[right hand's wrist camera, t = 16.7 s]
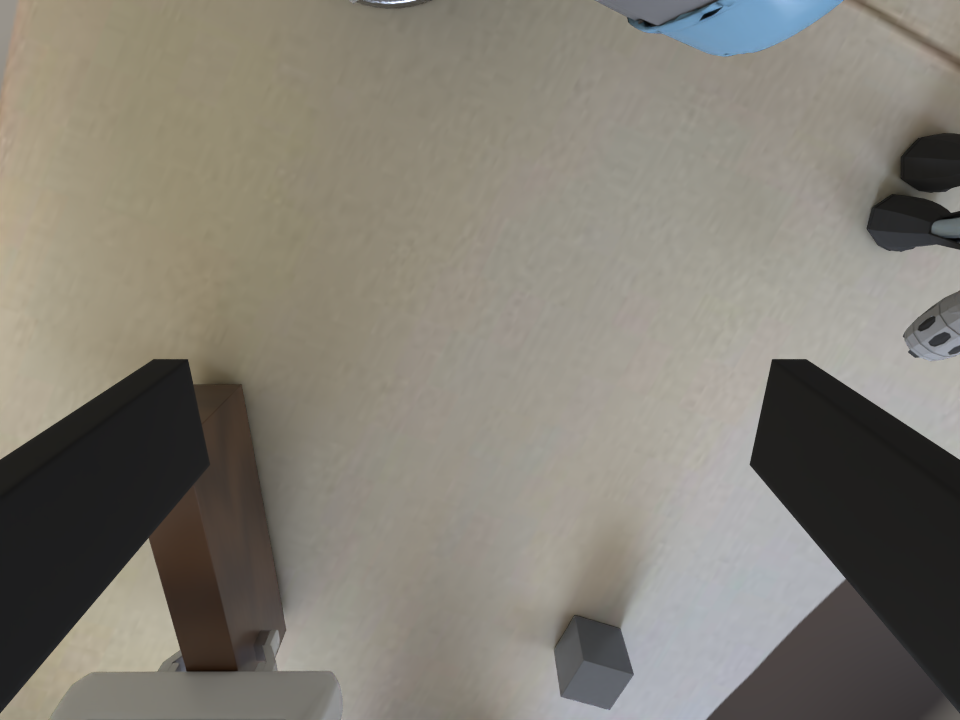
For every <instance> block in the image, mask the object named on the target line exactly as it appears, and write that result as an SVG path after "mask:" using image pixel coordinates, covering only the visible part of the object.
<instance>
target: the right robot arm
mask: <svg viewBox="0 0 960 720" xmlns="http://www.w3.org/2000/svg"><path fill="white" fill-rule="evenodd" d="M350 1H351V2H352V3H353V4H354V3H355V2H357V3H360V4H363V5H367V6H372V7H379V8H404V7H411V6H415V5H420V4H423V3H426V2H428V1H431V0H350ZM595 1H597V2H599V3H601V4H603V5H605V6H607V7H609V8H611V9H613V10H615V11H617V12H619V13H621V14H623V15H625V16H627V18H628V22H629V24H631V25H632V26H634V27H635V28H637V29H639V30H641V31H643V32H647V33H662V34H665V35H667V36H669V37H671V38H674V39H676V40H678V41H680V42H683V43H685V44H687V45H689V46H692V47H694V48H696V49H698V50H701V51H703V52H706V53H709V54H712V55H718V56H732V55H736V54H745V53H754V52H757V51H761V50H764V49H766V48H769V47H771V46H773V45H775V44H777V43H779V42H782V41H784V40H786V39H788V38H789V37H791V36H793V35H795V34H797V33H798V32H800V31H802V30H803V29H805V28H806V27H808V26H809V25H811V24H812V23H814V22H815V21H817V20H818V19H820V18H821V17H823V16H824V15H825V14H827V13H828V12H830V11H831V10H832V9H833V8H835V7H836V6H837V5H838V4H840V3H841V2H842V1H843V0H595ZM209 466H210V461H209V456H208V452H207V447H206V442H205V438H204V433H203V428H202V423H201V419H200V414H199V409H198V405H197V400H196V395H195V391H194V386H193V381H192V377H191V372H190V367H189V362H188V359H153V360H152V361H150V362H149V363H147V364H146V365H144V366H143V367H141V368H140V369H138V370H137V371H135V372H134V373H132V374H131V375H129V376H127V377H126V378H124V379H123V380H121V381H120V382H118V383H117V384H115V385H114V386H112V387H111V388H109V389H108V390H106V391H105V392H103V393H102V394H100V395H98V396H97V397H95V398H94V399H92V400H91V401H89V402H88V403H86V404H85V405H83V406H82V407H80V408H79V409H77V410H76V411H74V412H72V413H71V414H69V415H68V416H66V417H65V418H63V419H62V420H60V421H59V422H57V423H56V424H54V425H53V426H51V427H50V428H48V429H47V430H45V431H43V432H42V433H40V434H39V435H37V436H36V437H34V438H33V439H31V440H30V441H28V442H27V443H25V444H24V445H22V446H21V447H19V448H18V449H16V450H14V451H13V452H11V453H10V454H8V455H7V456H5V457H4V458H2V459H1V460H0V713H1V712H2V711H3V709H4V708H5V707H6V706H7V705H8V703H9V702H10V701H11V700H12V699H13V698H14V696H15V695H16V694H17V693H18V692H19V690H20V689H21V688H22V687H23V686H24V685H25V683H26V682H27V681H28V680H29V679H30V677H31V676H32V675H33V674H34V673H35V671H36V670H37V669H38V668H39V667H40V666H41V664H42V663H43V662H44V661H45V660H46V658H47V657H48V656H49V655H50V654H51V653H52V651H53V650H54V649H55V648H56V647H57V645H58V644H59V643H60V642H61V641H62V640H63V638H64V637H65V636H66V635H67V634H68V632H69V631H70V630H71V629H72V628H73V627H74V625H75V624H76V623H77V622H78V621H79V619H80V618H81V617H82V616H83V615H84V614H85V612H86V611H87V610H88V609H89V608H90V606H91V605H92V604H93V603H94V602H95V601H96V599H97V598H98V597H99V596H100V595H101V593H102V592H103V591H104V590H105V589H106V588H107V586H108V585H109V584H110V583H111V582H112V580H113V579H114V578H115V577H116V576H117V574H118V573H119V572H120V571H121V570H122V569H123V567H124V566H125V565H126V564H127V563H128V561H129V560H130V559H131V558H132V557H133V556H134V554H135V553H136V552H137V551H138V550H139V548H140V547H141V546H142V545H143V544H144V543H145V541H146V540H147V539H148V538H149V537H150V535H151V534H152V533H153V532H154V531H155V530H156V528H157V527H158V526H159V525H160V524H161V522H162V521H163V520H164V519H165V518H166V517H167V515H168V514H169V513H170V512H171V511H172V509H173V508H174V507H175V506H176V505H177V504H178V502H179V501H180V500H181V499H182V498H183V496H184V495H185V494H186V493H187V492H188V491H189V489H190V488H191V487H192V486H193V485H194V483H195V482H196V481H197V480H198V479H199V477H200V476H201V475H202V474H203V473H204V472H205V470H206V469H207V468H208V467H209ZM750 466H751V467H752V468H753V469H754V470H755V472H756V473H757V474H758V475H759V476H760V477H761V479H762V480H763V481H764V482H765V483H766V485H767V486H768V487H769V488H770V489H771V491H772V492H773V493H774V494H775V495H776V496H777V498H778V499H779V500H780V501H781V502H782V504H783V505H784V506H785V507H786V508H787V509H788V511H789V512H790V513H791V514H792V515H793V517H794V518H795V519H796V520H797V521H798V522H799V524H800V525H801V526H802V527H803V528H804V530H805V531H806V532H807V533H808V534H809V535H810V537H811V538H812V539H813V540H814V541H815V543H816V544H817V545H818V546H819V547H820V548H821V550H822V551H823V552H824V553H825V554H826V556H827V557H828V558H829V559H830V560H831V561H832V563H833V564H834V565H835V566H836V567H837V569H838V570H839V571H840V572H841V573H842V574H843V576H844V577H845V578H846V579H847V580H848V582H849V583H850V584H851V585H852V586H853V588H854V589H855V590H856V591H857V592H858V593H859V595H860V596H861V597H862V598H863V599H864V600H865V602H866V603H867V604H868V605H869V606H870V608H871V609H872V610H873V611H874V612H875V614H876V615H877V616H878V617H879V618H880V619H881V621H882V622H883V623H884V624H885V625H886V627H887V628H888V629H889V630H890V631H891V632H892V634H893V635H894V636H895V637H896V638H897V640H898V641H899V642H900V643H901V644H902V645H903V647H904V648H905V649H906V650H907V651H908V653H909V654H910V655H911V656H912V657H913V658H914V660H915V661H916V662H917V663H918V664H919V666H920V667H921V668H922V669H923V670H924V671H925V673H926V674H927V675H928V676H929V677H930V679H931V680H932V681H933V682H934V683H935V684H936V686H937V687H938V688H939V689H940V690H941V692H942V693H943V694H944V695H945V696H946V698H947V699H948V700H949V701H950V702H951V703H952V705H953V706H954V707H955V708H956V709H957V711H958V712H959V713H960V460H959V459H958V458H956V457H955V456H953V455H952V454H950V453H949V452H947V451H946V450H944V449H942V448H941V447H939V446H938V445H936V444H935V443H933V442H932V441H930V440H929V439H927V438H926V437H924V436H923V435H921V434H920V433H918V432H917V431H915V430H913V429H912V428H910V427H909V426H907V425H906V424H904V423H903V422H901V421H900V420H898V419H897V418H895V417H894V416H892V415H891V414H889V413H888V412H886V411H884V410H883V409H881V408H880V407H878V406H877V405H875V404H874V403H872V402H871V401H869V400H868V399H866V398H865V397H863V396H862V395H860V394H858V393H857V392H855V391H854V390H852V389H851V388H849V387H848V386H846V385H845V384H843V383H842V382H840V381H839V380H837V379H836V378H834V377H833V376H831V375H829V374H828V373H826V372H825V371H823V370H822V369H820V368H819V367H817V366H816V365H814V364H813V363H811V362H810V361H808V360H807V359H772V362H771V367H770V372H769V377H768V381H767V386H766V391H765V395H764V400H763V405H762V409H761V414H760V419H759V423H758V428H757V433H756V438H755V442H754V447H753V452H752V456H751V461H750Z"/></svg>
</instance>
